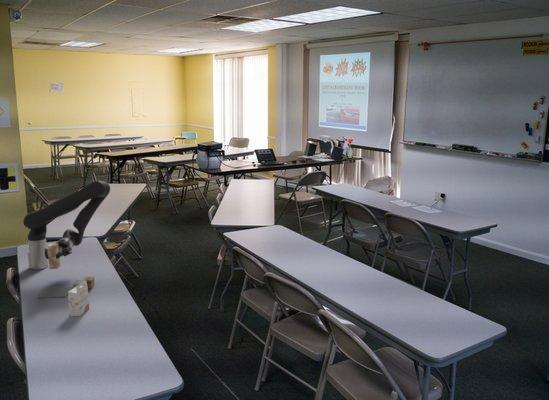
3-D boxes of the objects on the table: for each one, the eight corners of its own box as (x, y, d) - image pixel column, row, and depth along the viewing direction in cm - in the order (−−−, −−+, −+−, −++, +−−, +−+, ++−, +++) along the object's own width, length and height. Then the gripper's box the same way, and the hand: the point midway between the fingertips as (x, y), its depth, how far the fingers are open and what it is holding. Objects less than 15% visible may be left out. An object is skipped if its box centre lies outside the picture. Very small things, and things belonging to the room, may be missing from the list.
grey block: (73, 295, 241) (73, 283, 240) (76, 291, 246) (76, 280, 245) (84, 294, 242) (83, 283, 241) (86, 290, 247) (86, 280, 245)
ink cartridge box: (80, 308, 227) (78, 278, 224) (89, 309, 226) (87, 279, 223) (69, 315, 219) (66, 285, 216) (78, 317, 218) (76, 286, 215)
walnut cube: (82, 289, 248) (81, 280, 247) (84, 285, 253) (84, 277, 252) (91, 289, 249) (91, 280, 248) (94, 285, 254) (93, 276, 253)
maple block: (49, 269, 239) (47, 246, 236) (52, 266, 243) (50, 243, 240) (57, 268, 239) (55, 245, 237) (60, 266, 243) (58, 243, 240)
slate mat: (38, 298, 237) (38, 296, 237) (47, 287, 249) (47, 286, 249) (65, 297, 238) (65, 296, 238) (73, 287, 251) (73, 286, 251)
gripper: (48, 239, 252) (36, 250, 235) (76, 239, 253) (66, 249, 237) (49, 253, 253) (37, 264, 237) (77, 252, 255) (67, 263, 238)
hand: (52, 257), depth 237 cm, fingers closed on maple block, 4 cm apart
